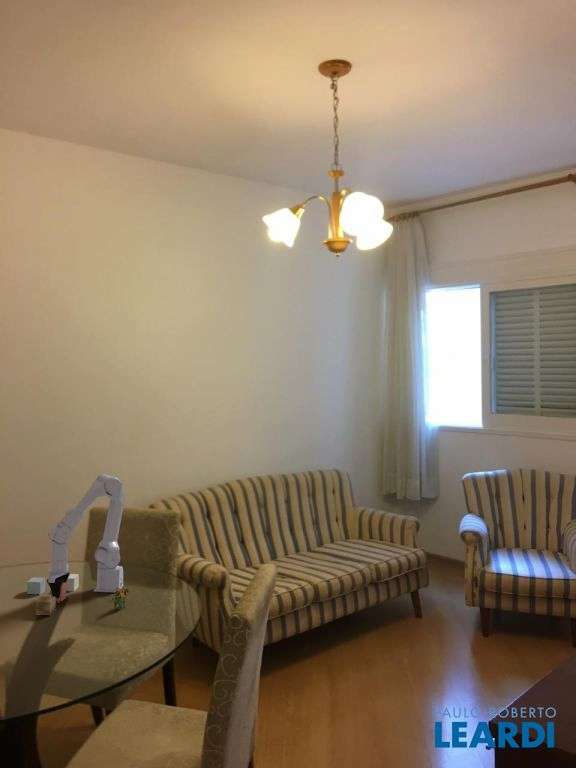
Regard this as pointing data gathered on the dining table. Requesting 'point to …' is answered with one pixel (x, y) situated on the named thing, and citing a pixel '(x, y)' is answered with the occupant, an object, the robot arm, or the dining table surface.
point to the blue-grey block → (36, 585)
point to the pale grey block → (72, 582)
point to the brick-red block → (62, 592)
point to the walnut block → (45, 605)
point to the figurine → (119, 597)
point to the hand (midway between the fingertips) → (58, 595)
